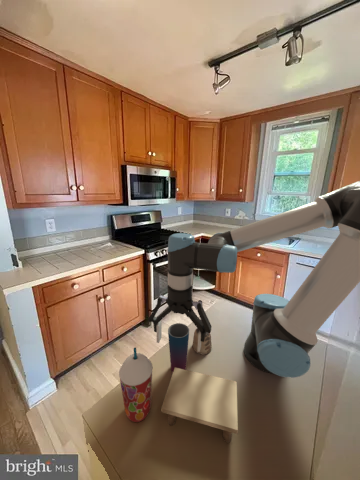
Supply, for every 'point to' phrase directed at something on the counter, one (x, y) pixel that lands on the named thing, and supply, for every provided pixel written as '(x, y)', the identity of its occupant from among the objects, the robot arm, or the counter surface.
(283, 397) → the counter surface
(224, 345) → the counter surface
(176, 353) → the cup
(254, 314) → the robot arm
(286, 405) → the counter surface
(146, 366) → the smoothie
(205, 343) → the figurine
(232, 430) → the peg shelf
